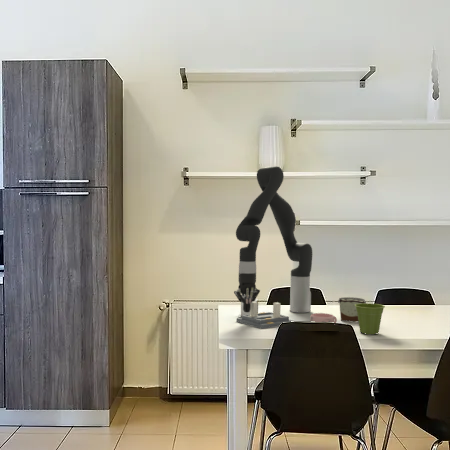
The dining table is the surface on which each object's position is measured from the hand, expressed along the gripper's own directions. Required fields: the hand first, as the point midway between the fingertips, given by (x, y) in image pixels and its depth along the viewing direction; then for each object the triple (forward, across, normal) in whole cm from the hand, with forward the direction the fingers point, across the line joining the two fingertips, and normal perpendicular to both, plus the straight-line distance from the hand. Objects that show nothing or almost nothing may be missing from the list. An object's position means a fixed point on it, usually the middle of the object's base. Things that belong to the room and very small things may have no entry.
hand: (246, 311), depth 243 cm
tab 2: (+3, -11, +7) cm, 13 cm away
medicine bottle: (+5, -13, -15) cm, 21 cm away
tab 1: (+3, -4, 0) cm, 5 cm away
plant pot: (+5, -30, +41) cm, 51 cm away
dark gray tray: (+5, -7, +4) cm, 10 cm away
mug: (+5, -20, +26) cm, 33 cm away
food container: (+5, -45, +19) cm, 50 cm away
